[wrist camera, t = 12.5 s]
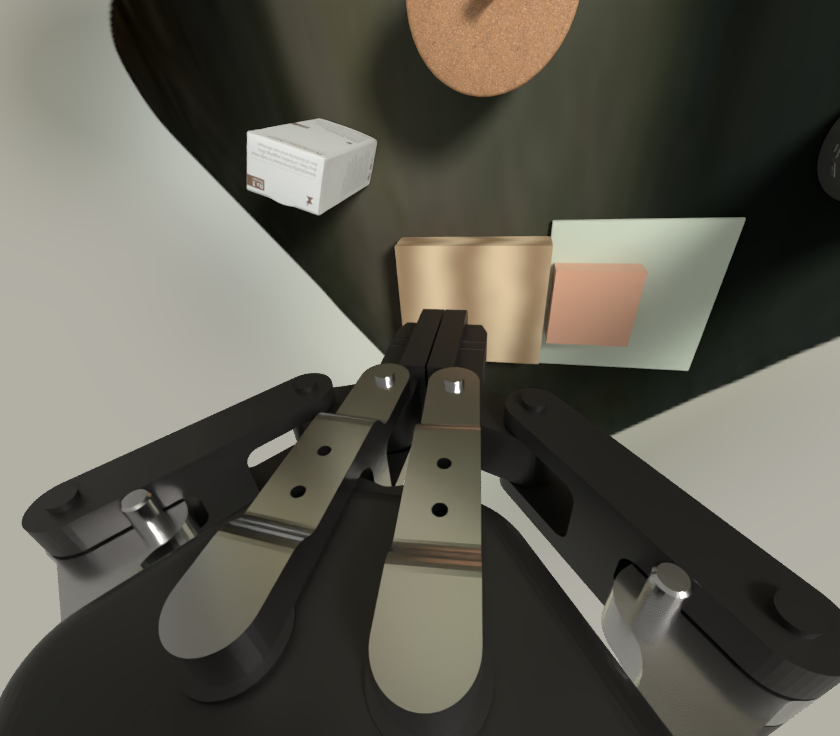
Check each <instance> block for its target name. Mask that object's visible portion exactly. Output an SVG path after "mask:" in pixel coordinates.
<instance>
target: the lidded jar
mask: <svg viewBox="0 0 840 736" xmlns="http://www.w3.org/2000/svg"><path fill="white" fill-rule="evenodd" d="M578 3H579V0H406V9H407V16H408V22H409V26H410V30H411V34H412V37H413V40H414V43H415V45H416V47H417V50H418V52H419V54H420V56H421V57H422V59H423V61H424V62H425V64H426V66H427V67H428V68H429V69H430V70H431V72H432V73H433V74H434V75H435V76H436V77H437V78H438V79H439V80H440V81H441V82H443V83H444V84H445V85H447V86H448V87H450V88H452V89H453V90H455V91H457V92H460V93H463V94H465V95H470V96H476V97H492V96H496V95H501V94H505V93H507V92H510V91H512V90H515V89H517V88H518V87H520V86H522V85H523V84H525V83H527V82H528V81H529V80H531V79H532V78H533V77H534V76H535V75H537V74H538V73H539V72H540V71H541V70H542V69H543V68H544V67H545V65H546V64H547V63H548V62H549V61H550V60H551V59H552V57H553V56H554V54H555V53H556V51H557V50H558V49H559V47H560V46H561V44H562V42H563V40H564V38H565V36H566V35H567V33H568V31H569V29H570V26H571V24H572V21H573V19H574V16H575V14H576V10H577V6H578Z"/></svg>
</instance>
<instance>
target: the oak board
mask: <svg viewBox="0 0 840 736" xmlns="http://www.w3.org/2000/svg"><path fill="white" fill-rule="evenodd" d="M552 251H553V243H552V239H551V236H504V237H401V239H400V240H399V241H398V242H397V244H396V245H395V256H396V266H397V276H398V286H399V296H400V306H401V316H402V326H403V325H404V324H406V323H407V322H413V323H417V321H418V319H419V317H420V314H421V312H422V310H423V309H444V310H446V309H449V310H467V311H468V324H472V325H482V326H483V327H484V329H485V330H486V332H487V357H486V361H487V362H506V363H525V364H539V357H540V349H541V340H542V332H543V324H544V316H545V308H546V300H547V292H548V284H549V275H550V267H551V259H552Z"/></svg>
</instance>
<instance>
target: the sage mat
mask: <svg viewBox="0 0 840 736" xmlns="http://www.w3.org/2000/svg"><path fill="white" fill-rule="evenodd" d="M745 220H746V218H744V217H725V218H661V219H597V220H553V222H552V230H551V239H552V243H553V251H552V259H551V267H550V275H549V284H548V292H547V300H546V308H545V316H544V324H543V332H542V340H541V349H540V357H539V363H551V364H570V365H589V366H608V367H627V368H646V369H665V370H684V371H688V370H689V368H690V365H691V362H692V360H693V357H694V354H695V352H696V349H697V346H698V344H699V341H700V339H701V336H702V333H703V331H704V328H705V325H706V323H707V320H708V317H709V315H710V312H711V310H712V307H713V304H714V302H715V299H716V296H717V294H718V291H719V288H720V286H721V283H722V281H723V278H724V275H725V273H726V270H727V267H728V265H729V262H730V259H731V257H732V254H733V252H734V249H735V246H736V244H737V241H738V238H739V236H740V233H741V230H742V228H743V225H744V223H745ZM554 263H626V264H642V265H643V266H644V268H645V269H646V270H647V276H646V280H645V283H644V287H643V291H642V294H641V298H640V302H639V305H638V309H637V313H636V317H635V320H634V324H633V328H632V331H631V335H630V339H629V342H628V346H627V347H618V346H597V345H576V344H555V343H546V337H545V329H546V322H547V314H548V307H549V299H550V292H551V284H552V277H553V269H554Z"/></svg>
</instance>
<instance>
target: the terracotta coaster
mask: <svg viewBox="0 0 840 736" xmlns="http://www.w3.org/2000/svg"><path fill="white" fill-rule="evenodd" d="M646 276H647V270H646V269H645V268H644V266H643V265H642V264H626V263H554V269H553V277H552V284H551V292H550V299H549V307H548V314H547V322H546V329H545V337H546V343H555V344H576V345H597V346H618V347H627V346H628V342H629V339H630V335H631V331H632V328H633V324H634V320H635V317H636V313H637V309H638V305H639V302H640V298H641V294H642V291H643V287H644V283H645V280H646Z"/></svg>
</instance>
